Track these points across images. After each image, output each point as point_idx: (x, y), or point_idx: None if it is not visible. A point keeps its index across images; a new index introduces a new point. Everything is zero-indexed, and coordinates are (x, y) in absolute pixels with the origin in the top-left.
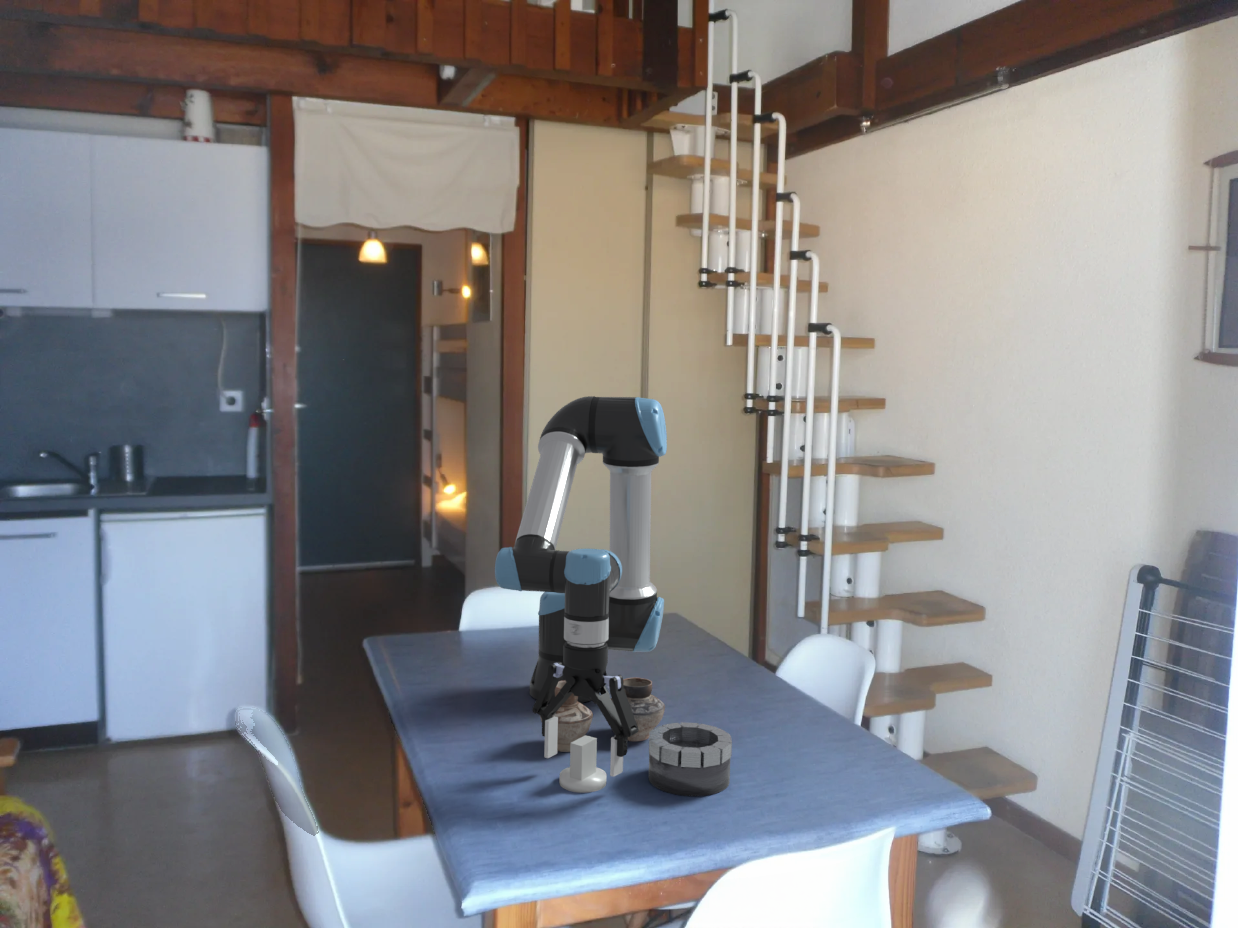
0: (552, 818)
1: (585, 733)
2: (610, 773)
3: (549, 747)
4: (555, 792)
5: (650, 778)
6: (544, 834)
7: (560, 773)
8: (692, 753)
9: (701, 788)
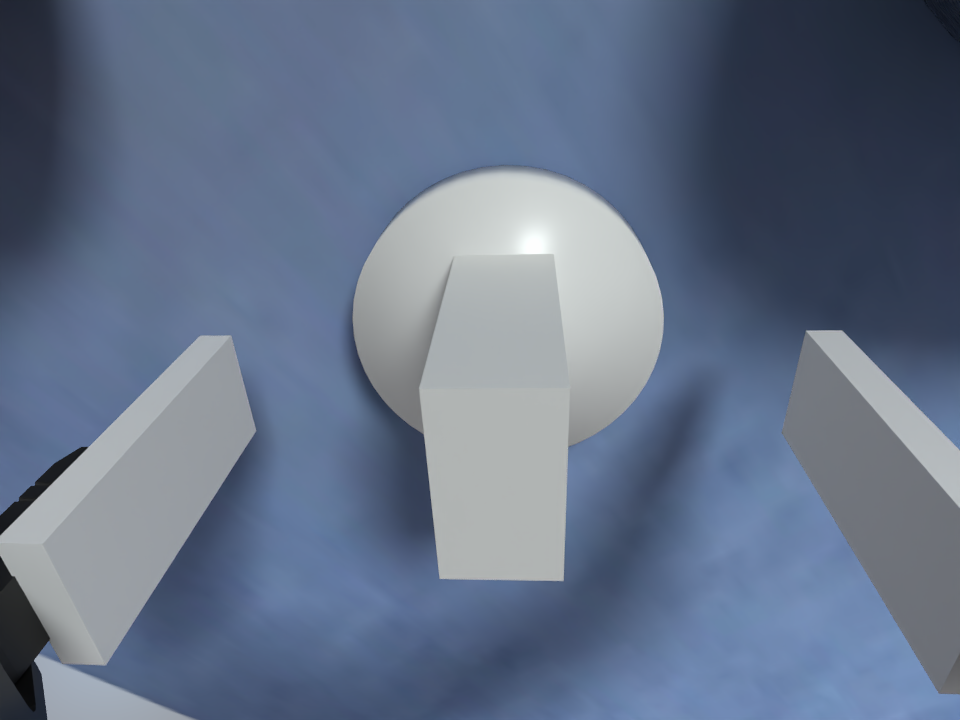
0: (617, 638)
1: None
2: (789, 440)
3: (224, 463)
4: None
5: (957, 20)
6: (663, 716)
7: (384, 395)
8: None
9: None
